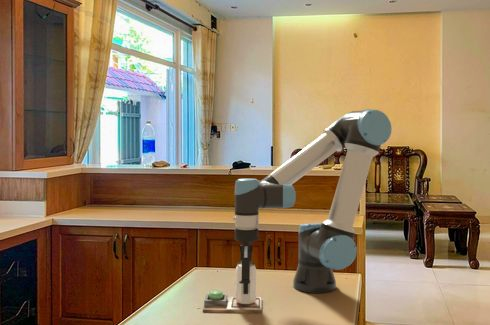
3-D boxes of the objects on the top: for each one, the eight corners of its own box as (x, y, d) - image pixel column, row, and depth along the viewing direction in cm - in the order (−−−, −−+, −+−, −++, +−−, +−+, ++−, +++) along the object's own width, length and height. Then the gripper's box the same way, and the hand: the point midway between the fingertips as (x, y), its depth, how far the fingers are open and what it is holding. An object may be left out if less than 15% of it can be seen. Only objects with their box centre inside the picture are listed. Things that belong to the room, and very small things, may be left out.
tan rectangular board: (261, 299, 168) (261, 291, 168) (261, 313, 155) (261, 304, 155) (207, 298, 169) (207, 291, 169) (202, 312, 156) (202, 303, 156)
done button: (223, 296, 164) (223, 290, 164) (222, 301, 160) (222, 294, 160) (209, 296, 164) (209, 290, 164) (208, 300, 160) (208, 294, 160)
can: (259, 300, 163) (259, 263, 162) (249, 305, 157) (249, 267, 157) (242, 296, 166) (242, 260, 166) (231, 302, 161) (231, 264, 160)
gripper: (236, 222, 170) (235, 290, 171) (232, 233, 151) (232, 309, 152) (258, 222, 170) (257, 291, 171) (258, 233, 151) (257, 310, 152)
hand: (246, 299), depth 162 cm, fingers closed on can, 6 cm apart
